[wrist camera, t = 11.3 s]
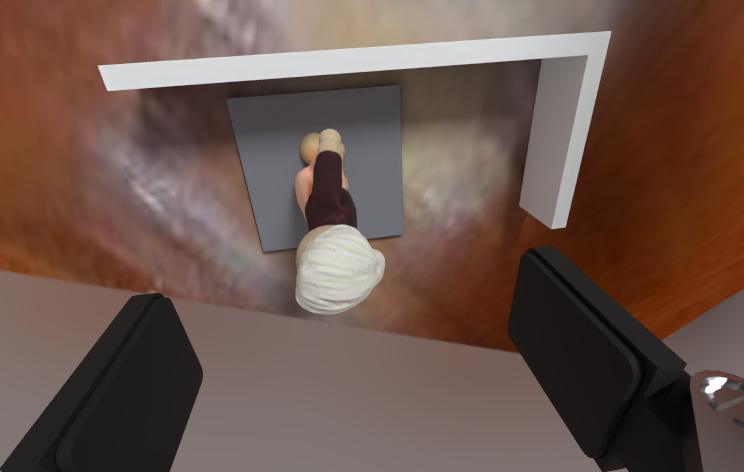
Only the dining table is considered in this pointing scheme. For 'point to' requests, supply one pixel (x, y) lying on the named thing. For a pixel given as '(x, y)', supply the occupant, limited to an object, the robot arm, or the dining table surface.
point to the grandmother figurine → (331, 233)
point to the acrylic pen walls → (555, 85)
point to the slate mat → (283, 162)
